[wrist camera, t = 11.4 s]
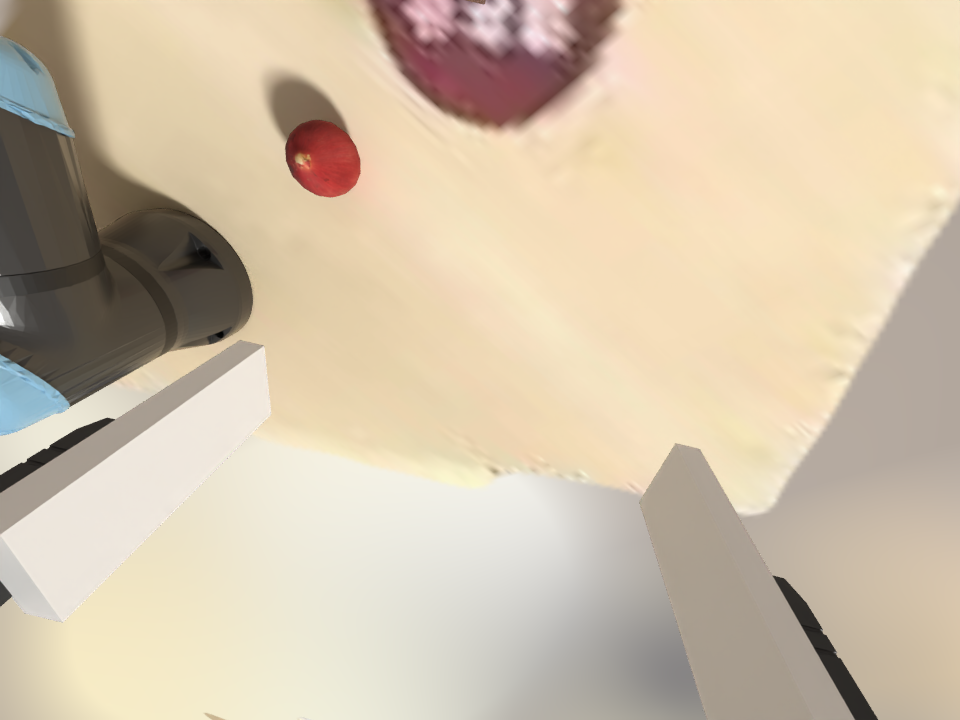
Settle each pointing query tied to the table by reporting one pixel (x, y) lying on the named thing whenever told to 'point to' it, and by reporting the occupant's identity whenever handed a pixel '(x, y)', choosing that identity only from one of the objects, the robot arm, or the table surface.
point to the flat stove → (478, 1)
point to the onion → (323, 158)
